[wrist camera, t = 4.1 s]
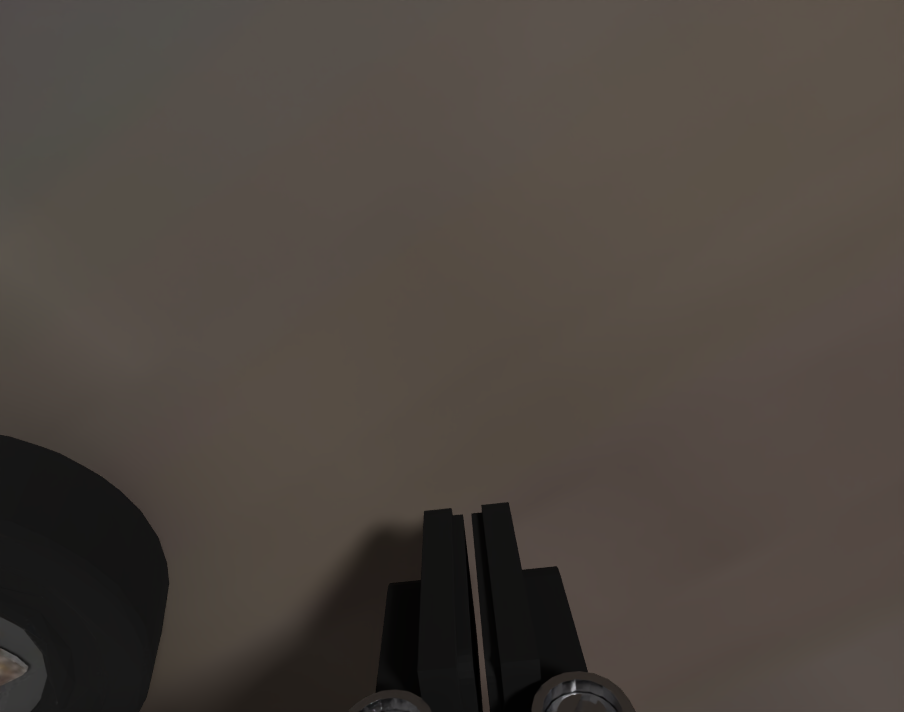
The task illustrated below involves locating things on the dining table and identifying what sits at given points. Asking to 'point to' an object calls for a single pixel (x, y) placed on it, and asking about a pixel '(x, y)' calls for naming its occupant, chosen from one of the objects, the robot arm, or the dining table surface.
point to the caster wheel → (74, 588)
